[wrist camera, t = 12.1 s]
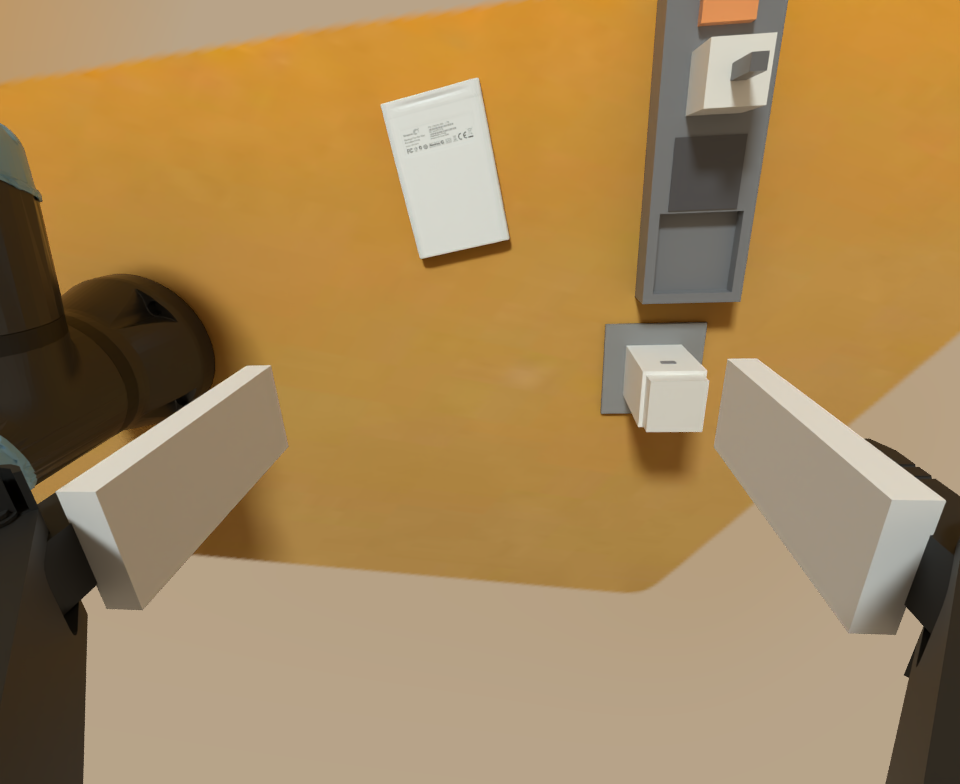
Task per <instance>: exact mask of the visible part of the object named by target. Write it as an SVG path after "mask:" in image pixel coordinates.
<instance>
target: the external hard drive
mask: <svg viewBox="0 0 960 784" xmlns="http://www.w3.org/2000/svg"><path fill="white" fill-rule="evenodd" d="M381 109H382V112H383V116H384V120H385V124H386V128H387V132H388V136H389V140H390V144H391V148H392V152H393V156H394V160H395V164H396V168H397V171H398V175H399V179H400V183H401V187H402V191H403V195H404V199H405V202H406V206H407V210H408V214H409V218H410V222H411V226H412V230H413V233H414V237H415V241H416V245H417V249H418V253H419V256H420V259H423V258H428V257H432V256H437V255H441V254H446V253H450V252H455V251H459V250H464V249H468V248H473V247H478V246H482V245H487V244H491V243H496V242H500V241H505V240H509V238H510V236H509V231H508V226H507V221H506V216H505V210H504V205H503V200H502V195H501V190H500V184H499V179H498V174H497V169H496V164H495V159H494V154H493V148H492V143H491V138H490V133H489V128H488V122H487V117H486V112H485V107H484V102H483V97H482V91H481V86H480V81H479V78H474V79H470V80H466V81H463V82H459V83H456V84H453V85H449V86H445V87H442V88H438V89H435V90H431V91H427V92H423V93H420V94H416V95H413V96H409V97H405V98H402V99H398V100H394V101H391V102H387V103H384V104H381Z"/></svg>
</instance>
